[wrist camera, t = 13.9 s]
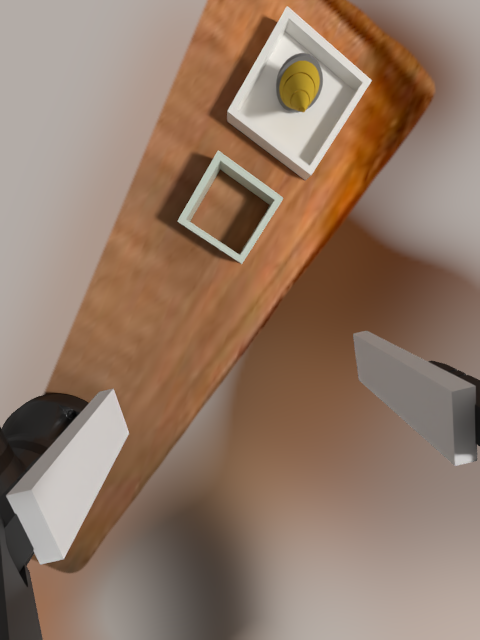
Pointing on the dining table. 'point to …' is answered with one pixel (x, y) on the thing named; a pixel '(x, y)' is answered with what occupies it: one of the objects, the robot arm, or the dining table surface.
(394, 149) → the dining table surface
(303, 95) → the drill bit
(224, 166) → the pale green square frame
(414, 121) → the dining table surface
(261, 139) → the tray
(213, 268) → the dining table surface
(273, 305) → the dining table surface
